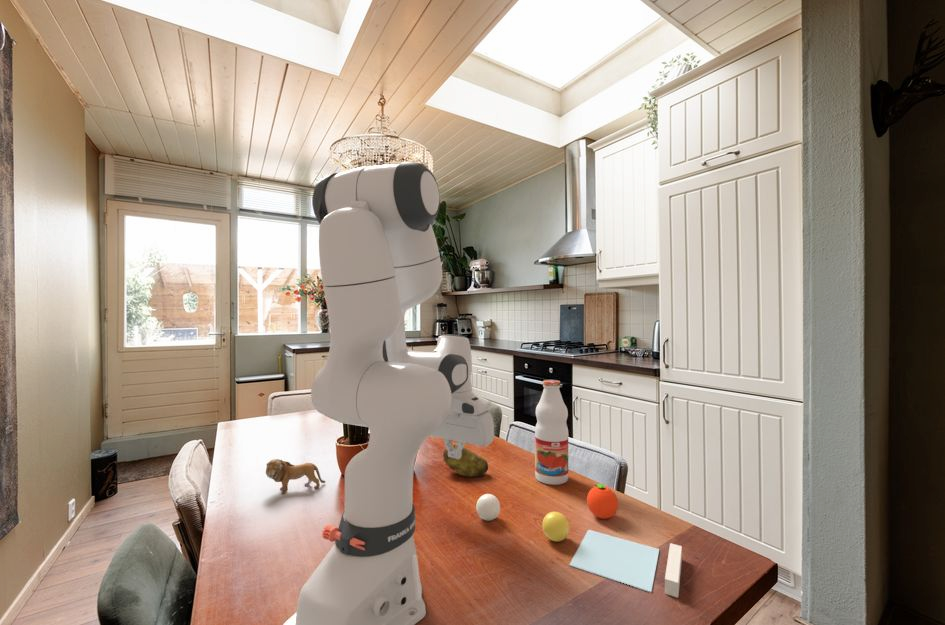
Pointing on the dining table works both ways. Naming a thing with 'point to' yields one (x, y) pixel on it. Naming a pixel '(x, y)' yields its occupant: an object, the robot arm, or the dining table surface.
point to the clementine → (602, 501)
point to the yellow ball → (555, 526)
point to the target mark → (617, 559)
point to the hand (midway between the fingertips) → (454, 457)
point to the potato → (466, 463)
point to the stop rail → (673, 570)
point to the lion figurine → (291, 473)
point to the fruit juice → (551, 436)
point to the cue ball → (488, 507)
